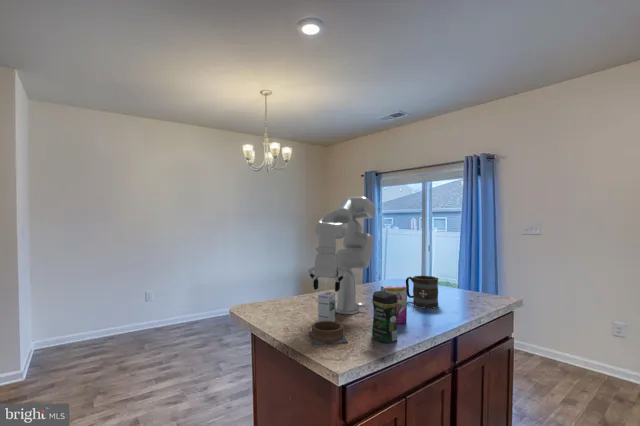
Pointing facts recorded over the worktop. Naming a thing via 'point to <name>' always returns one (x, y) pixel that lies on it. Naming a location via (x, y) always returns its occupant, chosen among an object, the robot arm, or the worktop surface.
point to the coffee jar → (384, 316)
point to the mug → (424, 291)
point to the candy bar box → (399, 301)
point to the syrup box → (326, 307)
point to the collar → (327, 333)
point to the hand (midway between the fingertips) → (326, 290)
